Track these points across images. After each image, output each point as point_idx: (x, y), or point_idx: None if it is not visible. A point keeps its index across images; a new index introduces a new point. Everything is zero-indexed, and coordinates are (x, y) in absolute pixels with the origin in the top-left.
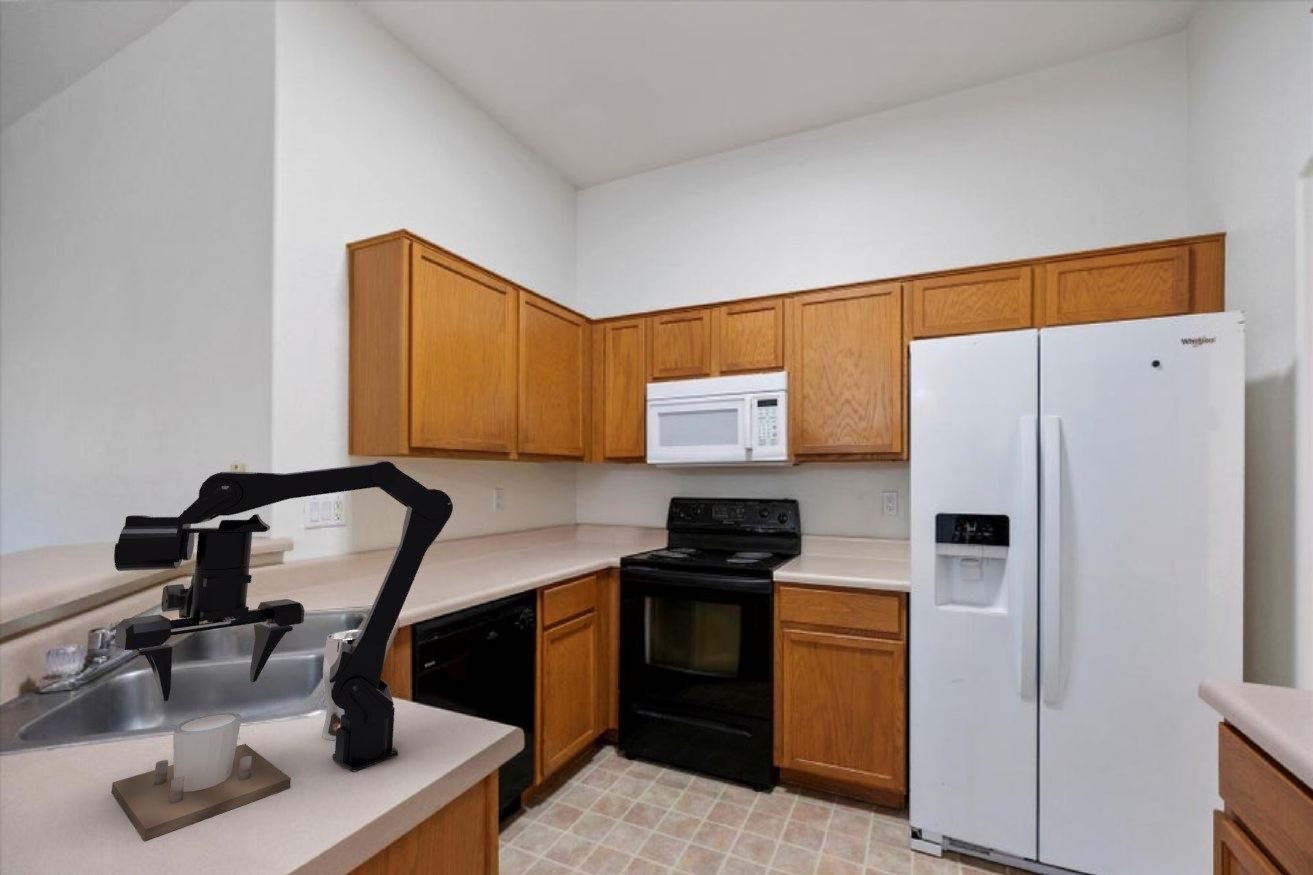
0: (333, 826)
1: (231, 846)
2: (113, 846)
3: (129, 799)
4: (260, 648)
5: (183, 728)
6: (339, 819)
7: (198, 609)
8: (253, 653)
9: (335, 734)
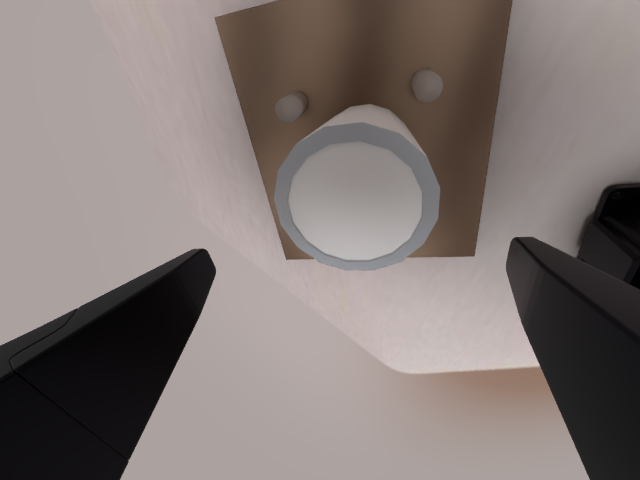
0: (451, 354)
1: (362, 318)
2: (262, 237)
3: (258, 146)
4: (626, 477)
5: (295, 203)
6: (464, 349)
7: None
8: (622, 343)
9: None
